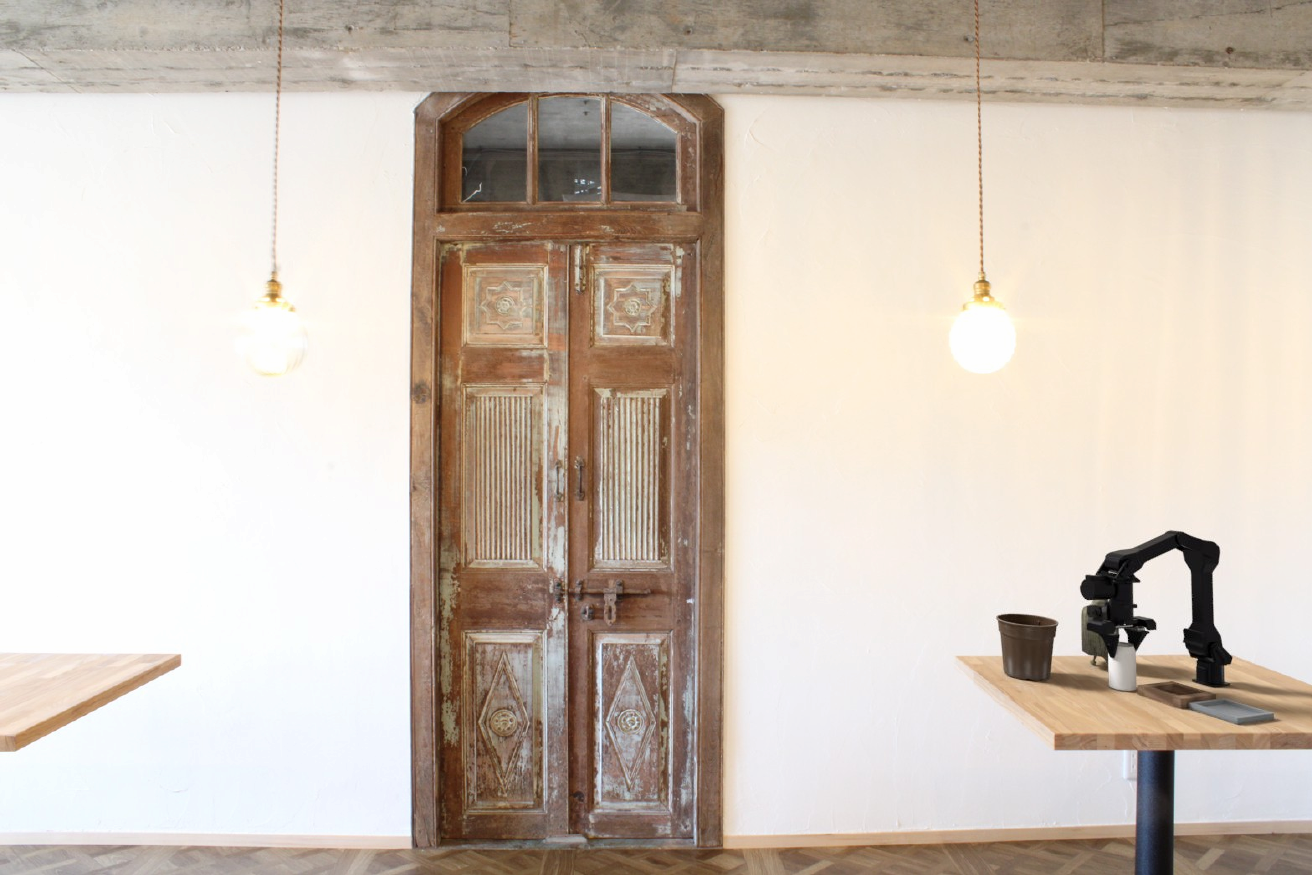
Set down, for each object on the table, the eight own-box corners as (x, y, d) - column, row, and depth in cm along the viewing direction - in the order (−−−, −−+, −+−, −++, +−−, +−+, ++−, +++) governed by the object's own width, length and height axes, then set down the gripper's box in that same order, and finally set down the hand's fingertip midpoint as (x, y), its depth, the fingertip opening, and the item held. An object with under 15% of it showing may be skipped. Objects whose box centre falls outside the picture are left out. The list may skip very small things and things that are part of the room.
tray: (1223, 703, 196) (1223, 698, 196) (1274, 719, 185) (1273, 713, 185) (1188, 708, 193) (1188, 702, 193) (1237, 724, 181) (1237, 718, 181)
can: (1140, 692, 206) (1139, 647, 206) (1114, 691, 207) (1113, 646, 207) (1130, 685, 212) (1130, 641, 212) (1105, 684, 213) (1104, 640, 214)
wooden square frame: (1172, 690, 207) (1171, 681, 208) (1216, 704, 196) (1216, 694, 196) (1137, 694, 204) (1137, 685, 204) (1180, 708, 192) (1180, 698, 192)
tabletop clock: (1117, 674, 223) (1115, 587, 223) (1081, 669, 228) (1080, 584, 228) (1119, 662, 235) (1118, 580, 236) (1085, 658, 240) (1084, 578, 241)
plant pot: (1070, 677, 220) (1069, 620, 220) (1039, 687, 211) (1039, 627, 211) (1016, 664, 233) (1015, 611, 234) (985, 673, 224) (984, 617, 225)
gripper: (1121, 592, 220) (1122, 647, 220) (1069, 595, 215) (1070, 652, 215) (1157, 599, 210) (1158, 656, 209) (1103, 603, 204) (1104, 662, 204)
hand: (1121, 656), depth 210 cm, fingers closed on can, 6 cm apart
